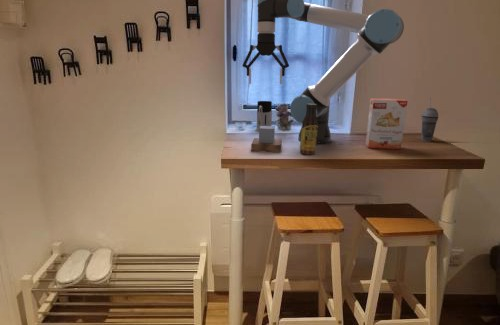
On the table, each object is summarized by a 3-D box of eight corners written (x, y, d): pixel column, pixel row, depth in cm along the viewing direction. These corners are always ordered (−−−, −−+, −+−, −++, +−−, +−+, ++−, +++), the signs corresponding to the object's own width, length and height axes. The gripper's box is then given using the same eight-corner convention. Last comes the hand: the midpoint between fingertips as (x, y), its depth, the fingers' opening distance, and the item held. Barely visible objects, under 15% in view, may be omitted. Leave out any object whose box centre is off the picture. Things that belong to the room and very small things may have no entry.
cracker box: (368, 148, 158) (373, 99, 152) (365, 145, 164) (369, 98, 158) (401, 149, 157) (408, 100, 151) (397, 146, 163) (403, 98, 157)
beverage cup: (430, 143, 170) (436, 99, 164) (415, 140, 175) (421, 97, 170) (437, 141, 174) (444, 98, 169) (422, 138, 180) (428, 97, 174)
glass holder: (274, 129, 199) (274, 101, 195) (267, 133, 186) (267, 104, 182) (258, 128, 202) (258, 100, 197) (250, 132, 189) (251, 103, 184)
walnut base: (281, 145, 161) (281, 139, 160) (280, 152, 150) (280, 145, 149) (254, 144, 162) (254, 138, 162) (251, 151, 151) (251, 144, 150)
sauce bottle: (303, 155, 145) (306, 105, 139) (297, 152, 150) (299, 103, 145) (318, 154, 146) (322, 104, 141) (311, 151, 152) (314, 102, 147)
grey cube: (274, 140, 158) (274, 126, 156) (273, 143, 152) (273, 128, 150) (260, 139, 158) (260, 125, 157) (258, 142, 153) (259, 128, 151)
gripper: (294, 33, 161) (292, 83, 166) (237, 33, 161) (237, 83, 167) (296, 32, 153) (294, 84, 159) (236, 32, 154) (236, 84, 160)
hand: (265, 83), depth 163 cm, fingers open, 13 cm apart
